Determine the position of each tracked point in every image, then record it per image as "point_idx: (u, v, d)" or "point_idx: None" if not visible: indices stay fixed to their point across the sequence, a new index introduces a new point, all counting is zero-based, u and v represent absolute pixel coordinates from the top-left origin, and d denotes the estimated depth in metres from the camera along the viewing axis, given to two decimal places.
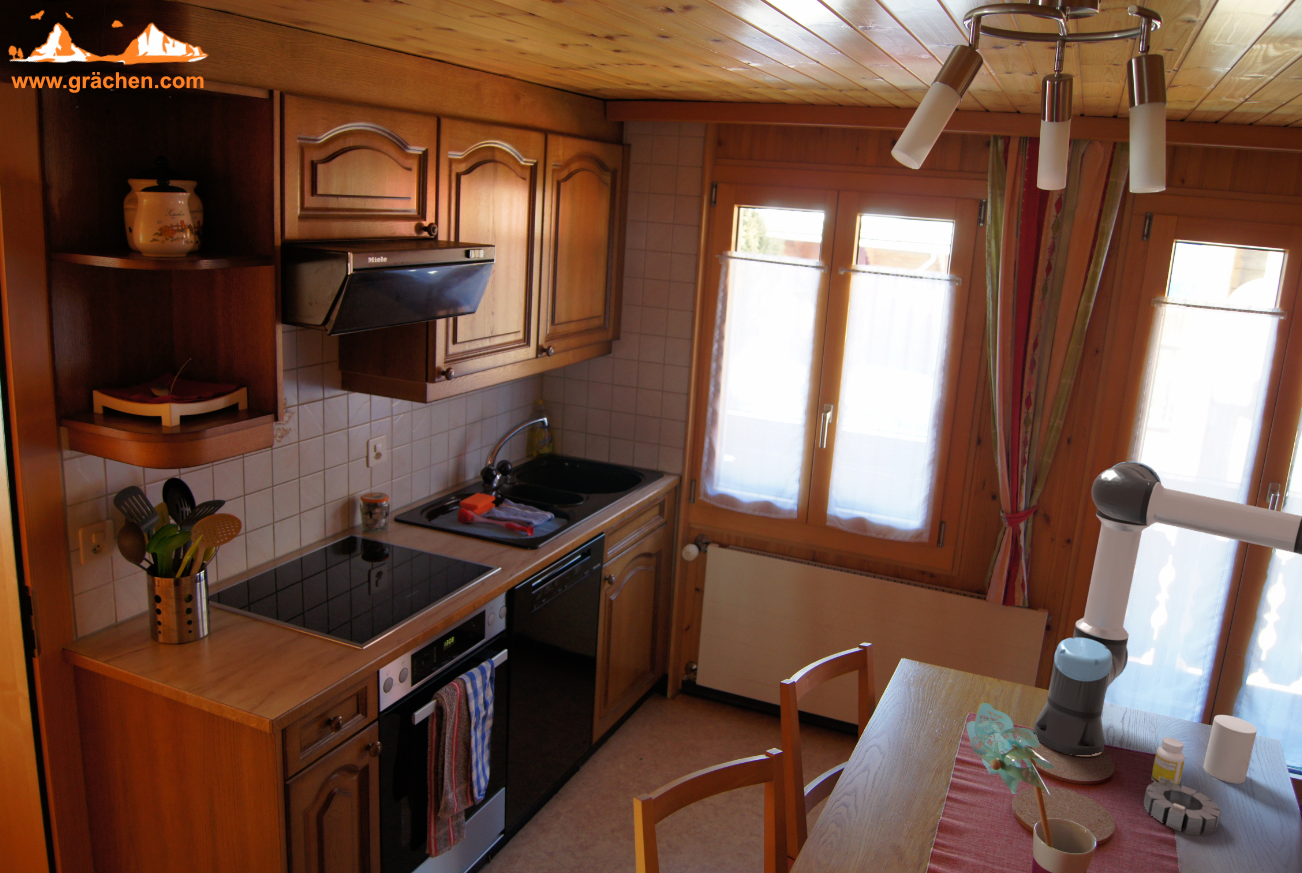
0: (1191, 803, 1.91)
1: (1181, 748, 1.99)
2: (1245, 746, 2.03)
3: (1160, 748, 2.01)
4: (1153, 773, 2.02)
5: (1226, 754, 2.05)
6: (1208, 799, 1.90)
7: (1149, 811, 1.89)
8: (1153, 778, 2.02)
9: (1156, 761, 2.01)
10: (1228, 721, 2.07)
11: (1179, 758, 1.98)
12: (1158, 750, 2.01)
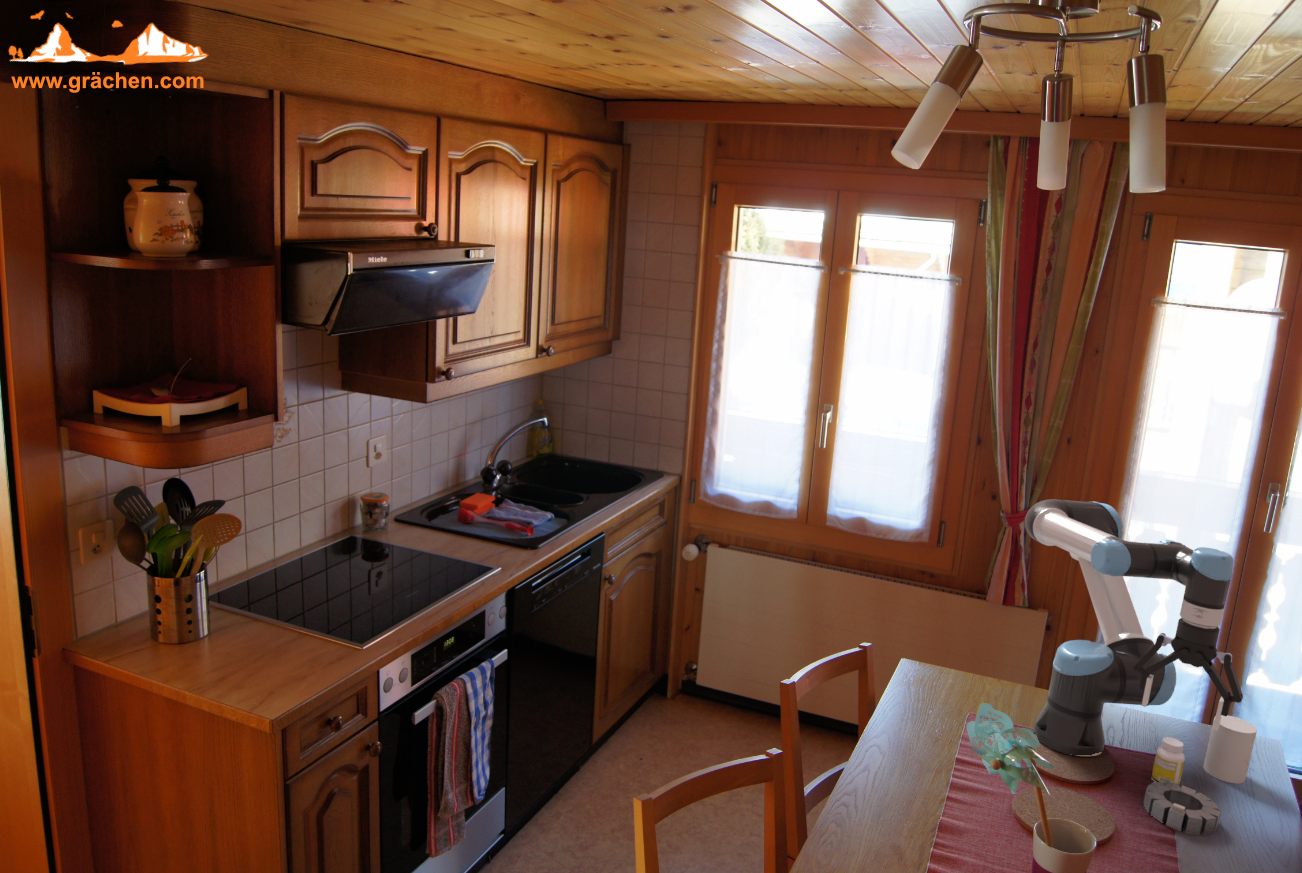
0: (1191, 803, 1.91)
1: (1181, 748, 1.99)
2: (1245, 746, 2.03)
3: (1160, 748, 2.01)
4: (1153, 773, 2.02)
5: (1226, 754, 2.05)
6: (1208, 799, 1.90)
7: (1149, 811, 1.89)
8: (1153, 778, 2.02)
9: (1156, 761, 2.01)
10: (1228, 721, 2.07)
11: (1179, 758, 1.98)
12: (1158, 750, 2.01)
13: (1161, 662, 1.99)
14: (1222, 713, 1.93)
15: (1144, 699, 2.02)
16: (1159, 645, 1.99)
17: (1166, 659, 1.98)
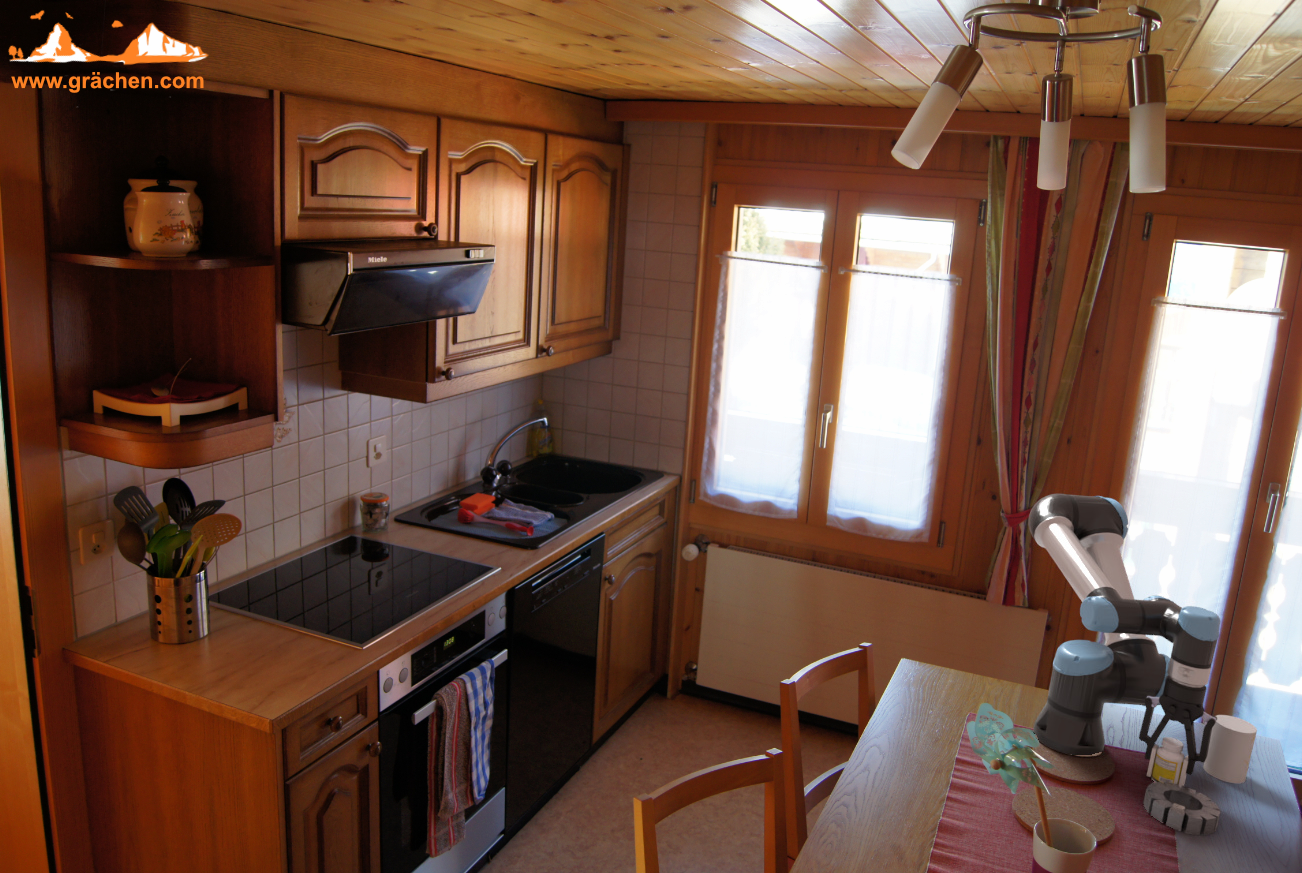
0: (1191, 803, 1.91)
1: (1181, 748, 1.99)
2: (1245, 746, 2.03)
3: (1160, 748, 2.01)
4: (1153, 773, 2.02)
5: (1226, 754, 2.05)
6: (1208, 799, 1.90)
7: (1149, 811, 1.89)
8: (1153, 778, 2.02)
9: (1156, 761, 2.01)
10: (1228, 721, 2.07)
11: (1179, 758, 1.98)
12: (1158, 750, 2.01)
13: (1158, 727, 2.01)
14: (1187, 772, 1.98)
15: (1149, 769, 2.02)
16: (1150, 708, 2.01)
17: (1161, 722, 2.00)
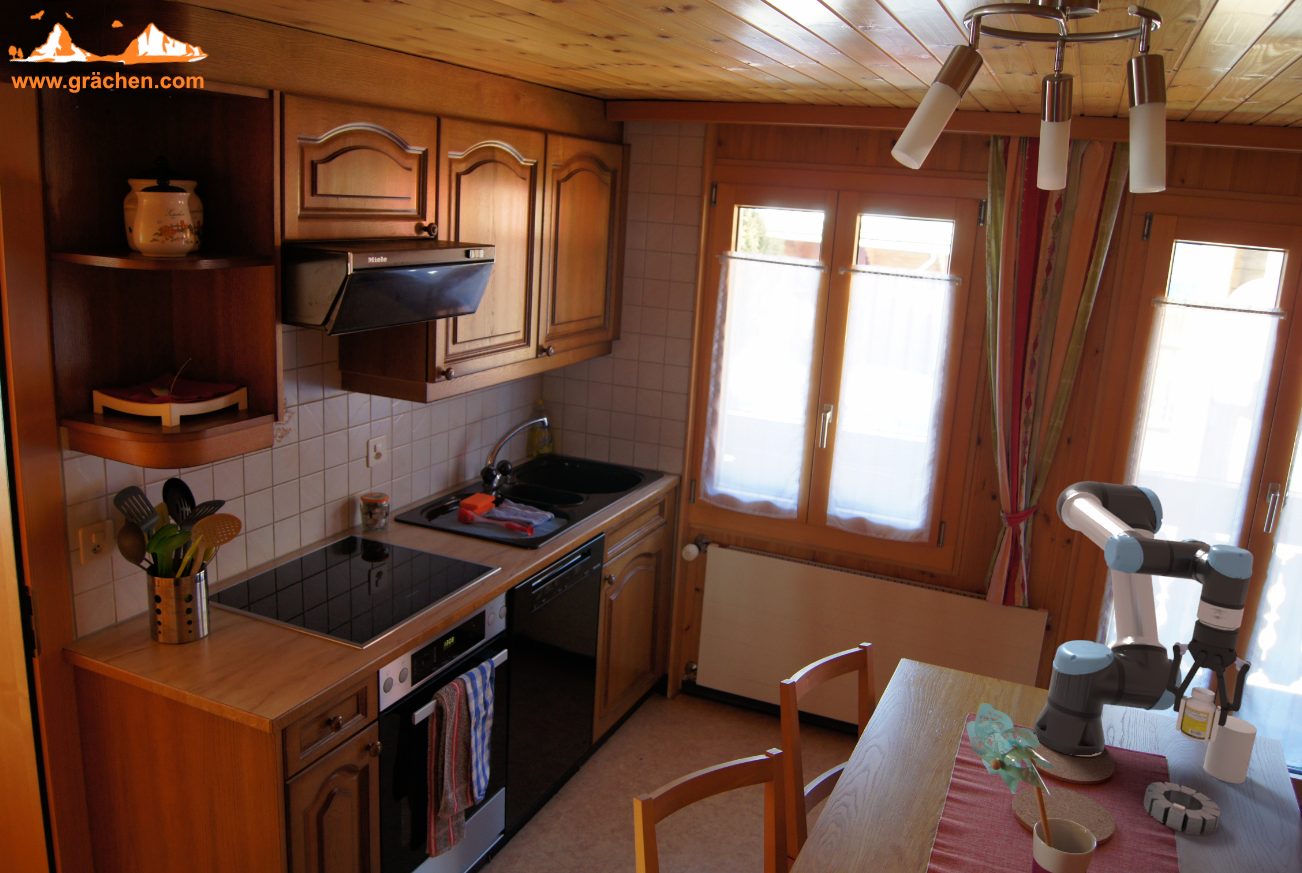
0: (1191, 803, 1.91)
1: (1213, 697, 1.85)
2: (1245, 746, 2.03)
3: (1190, 699, 1.88)
4: (1182, 726, 1.88)
5: (1226, 754, 2.05)
6: (1208, 799, 1.90)
7: (1149, 811, 1.89)
8: (1183, 731, 1.88)
9: (1186, 712, 1.87)
10: (1228, 721, 2.07)
11: (1210, 708, 1.85)
12: (1188, 701, 1.87)
13: (1187, 676, 1.87)
14: (1219, 723, 1.85)
15: (1178, 722, 1.89)
16: (1178, 655, 1.88)
17: (1190, 671, 1.87)
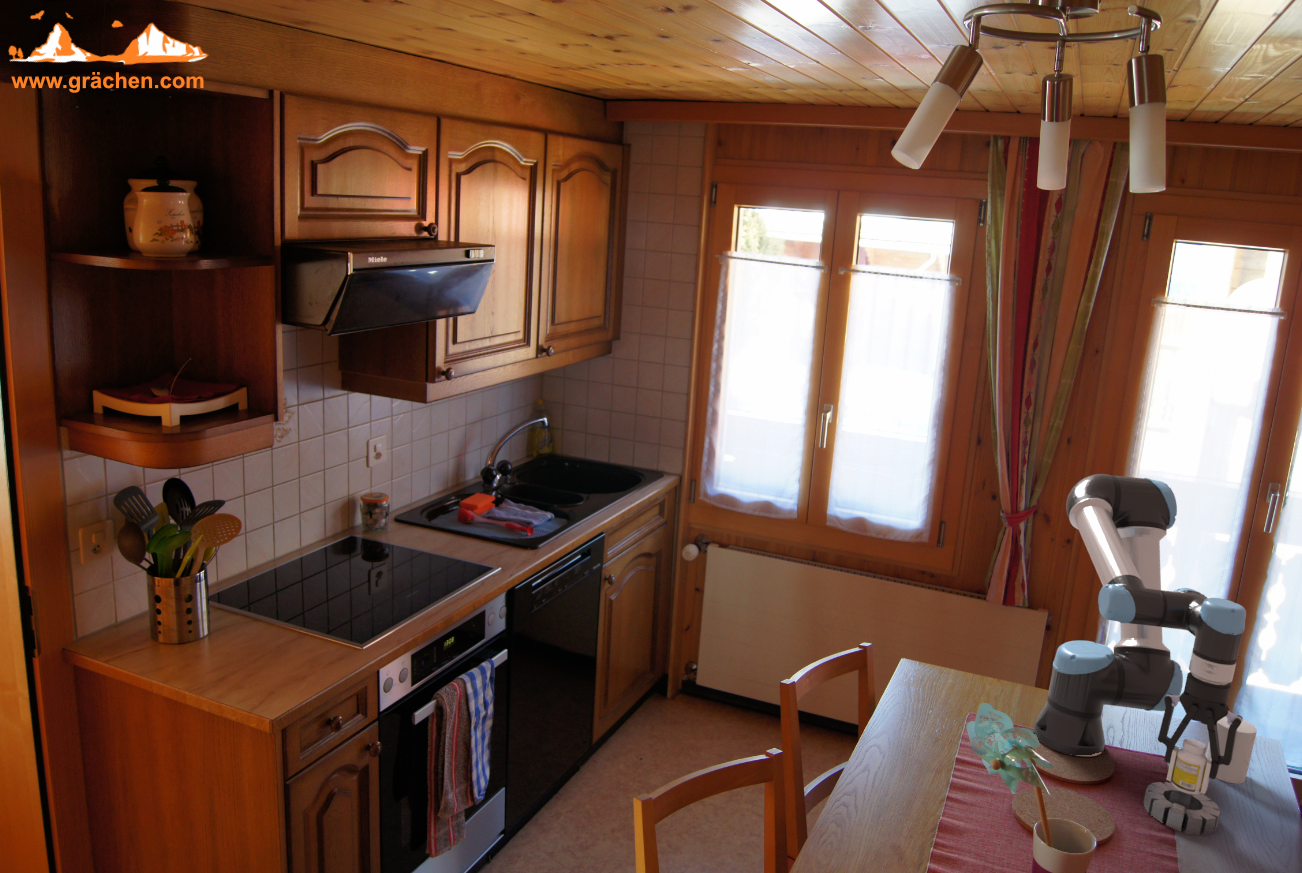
0: (1191, 803, 1.91)
1: (1204, 750, 1.85)
2: (1245, 746, 2.03)
3: (1181, 750, 1.88)
4: (1173, 777, 1.88)
5: None
6: (1208, 799, 1.90)
7: (1149, 811, 1.89)
8: (1173, 782, 1.88)
9: (1177, 764, 1.88)
10: None
11: (1201, 760, 1.85)
12: (1179, 752, 1.87)
13: (1179, 728, 1.87)
14: (1210, 776, 1.85)
15: (1169, 773, 1.89)
16: (1170, 707, 1.88)
17: (1182, 723, 1.87)
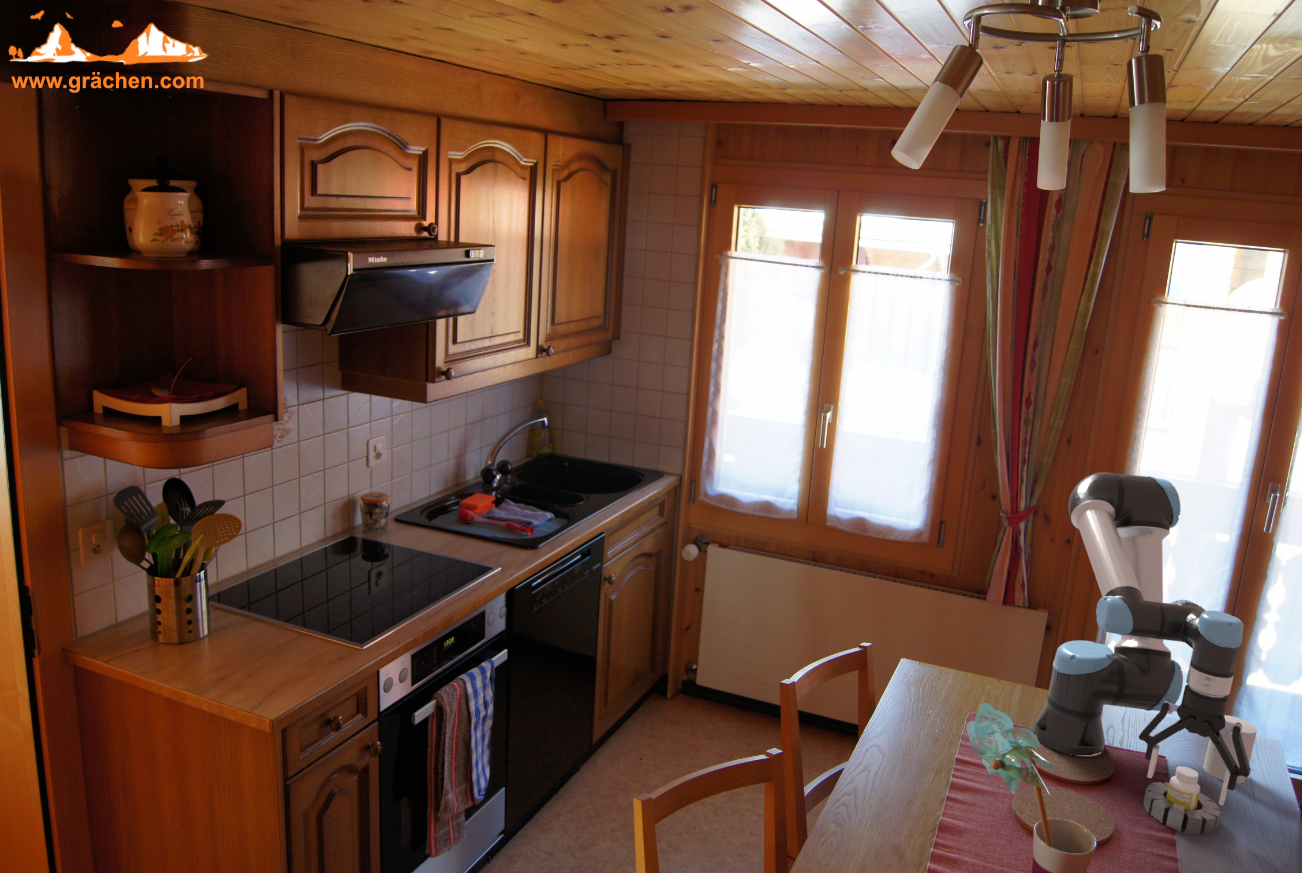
0: None
1: (1196, 778, 1.86)
2: (1245, 746, 2.03)
3: (1174, 778, 1.89)
4: None
5: None
6: (1208, 799, 1.90)
7: (1149, 811, 1.89)
8: None
9: (1169, 792, 1.89)
10: (1228, 721, 2.07)
11: (1194, 789, 1.86)
12: (1172, 780, 1.89)
13: (1167, 731, 1.89)
14: (1228, 787, 1.83)
15: (1150, 770, 1.91)
16: (1164, 713, 1.89)
17: (1172, 728, 1.88)
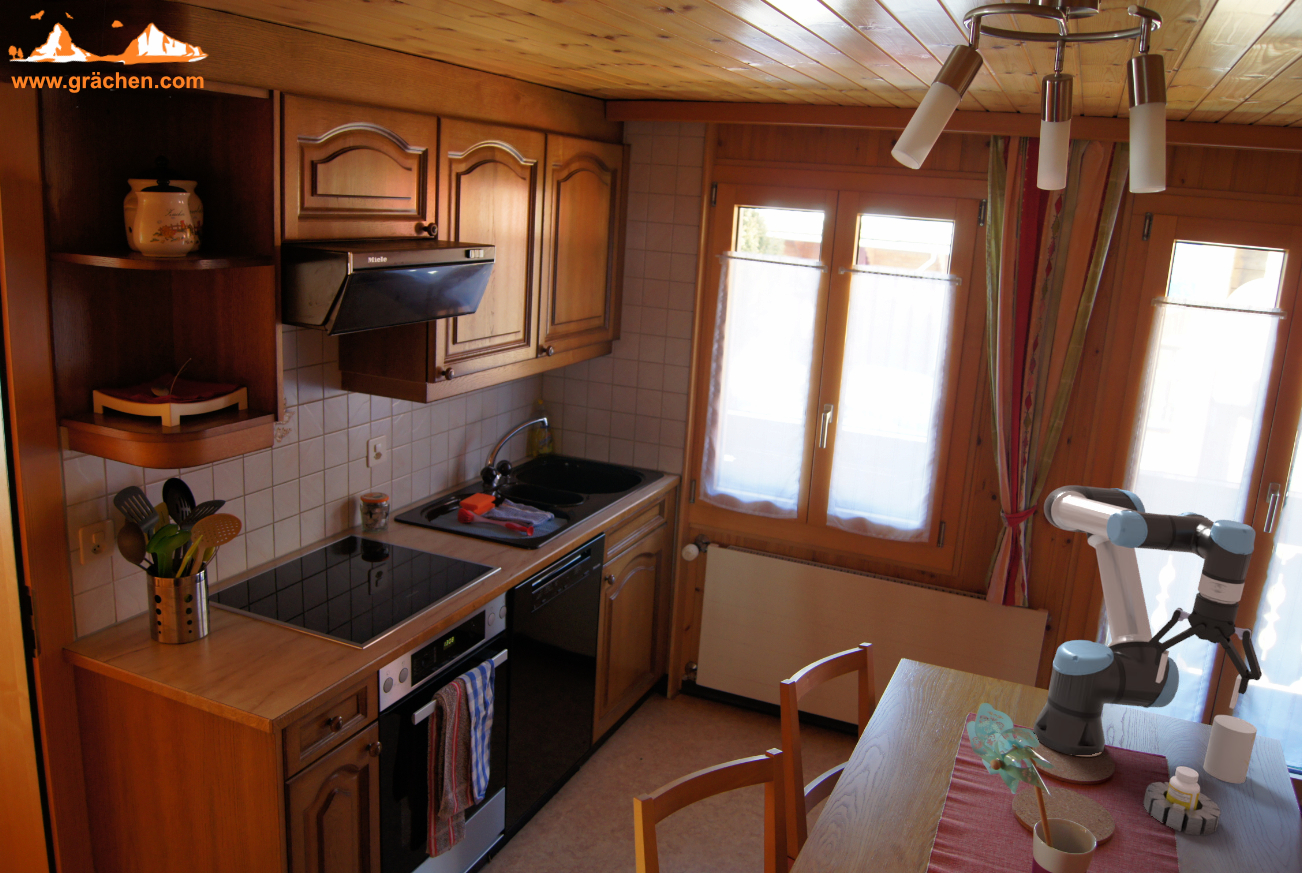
0: None
1: (1196, 778, 1.86)
2: (1245, 746, 2.03)
3: (1174, 778, 1.89)
4: None
5: (1226, 754, 2.05)
6: (1208, 799, 1.90)
7: (1149, 811, 1.89)
8: None
9: (1169, 792, 1.89)
10: (1228, 721, 2.07)
11: (1194, 789, 1.86)
12: (1172, 780, 1.89)
13: (1177, 637, 1.93)
14: (1239, 691, 1.87)
15: (1158, 675, 1.96)
16: (1175, 620, 1.93)
17: (1182, 634, 1.92)
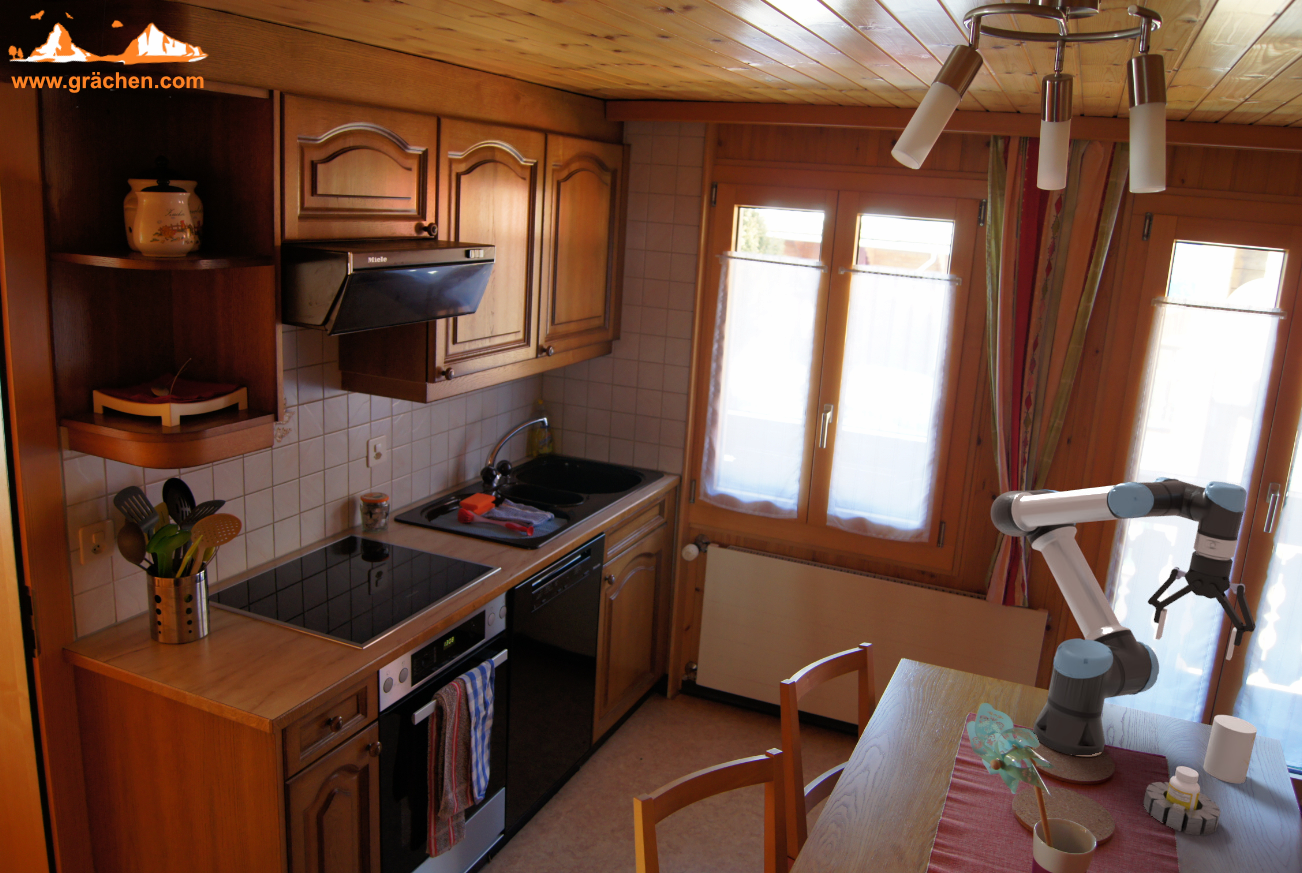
0: None
1: (1196, 778, 1.86)
2: (1245, 746, 2.03)
3: (1174, 778, 1.89)
4: None
5: (1226, 754, 2.05)
6: (1208, 799, 1.90)
7: (1149, 811, 1.89)
8: None
9: (1169, 792, 1.89)
10: (1228, 721, 2.07)
11: (1194, 789, 1.86)
12: (1172, 780, 1.89)
13: (1175, 595, 2.03)
14: (1235, 643, 1.97)
15: (1158, 632, 2.06)
16: (1173, 578, 2.03)
17: (1180, 592, 2.03)
